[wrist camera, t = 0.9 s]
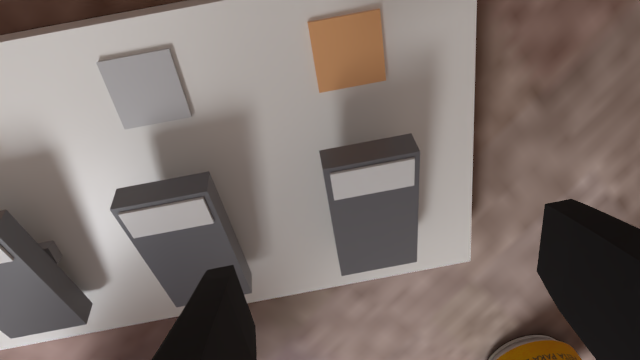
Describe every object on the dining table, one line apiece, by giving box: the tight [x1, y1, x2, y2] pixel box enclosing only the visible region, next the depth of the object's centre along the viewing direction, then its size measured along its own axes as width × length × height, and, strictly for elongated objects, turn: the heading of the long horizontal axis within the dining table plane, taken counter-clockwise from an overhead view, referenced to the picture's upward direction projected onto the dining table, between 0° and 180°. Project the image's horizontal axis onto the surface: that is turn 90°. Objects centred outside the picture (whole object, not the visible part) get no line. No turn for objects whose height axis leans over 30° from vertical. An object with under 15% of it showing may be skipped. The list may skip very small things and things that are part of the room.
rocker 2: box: [110, 171, 252, 307], centre depth 16 cm, size 6×3×1 cm, turn 9°
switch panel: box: [0, 0, 477, 350], centre depth 18 cm, size 13×23×2 cm, turn 99°
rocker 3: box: [319, 133, 420, 276], centre depth 16 cm, size 6×3×1 cm, turn 10°
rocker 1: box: [0, 210, 93, 339], centre depth 16 cm, size 6×3×1 cm, turn 10°
